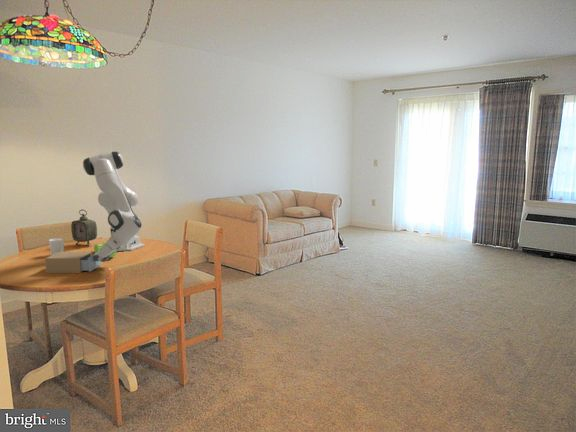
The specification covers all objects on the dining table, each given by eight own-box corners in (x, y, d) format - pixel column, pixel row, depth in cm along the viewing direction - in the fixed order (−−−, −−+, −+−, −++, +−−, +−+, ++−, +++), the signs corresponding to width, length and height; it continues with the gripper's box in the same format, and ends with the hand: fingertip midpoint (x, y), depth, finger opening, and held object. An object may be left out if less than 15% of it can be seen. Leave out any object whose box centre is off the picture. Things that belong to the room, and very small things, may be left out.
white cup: (63, 256, 250) (61, 240, 249) (48, 257, 248) (47, 241, 247) (66, 253, 258) (64, 237, 256) (52, 254, 256) (50, 238, 254)
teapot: (117, 259, 244) (116, 243, 242) (96, 261, 238) (95, 245, 237) (114, 255, 254) (113, 239, 252) (94, 257, 248) (93, 241, 247)
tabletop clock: (72, 245, 278) (69, 209, 274) (83, 243, 286) (81, 208, 282) (88, 247, 273) (85, 211, 269) (99, 244, 281) (96, 209, 277)
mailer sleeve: (92, 265, 231) (91, 251, 229) (80, 272, 217) (79, 258, 215) (60, 265, 230) (58, 251, 229) (46, 272, 216) (45, 258, 215)
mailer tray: (113, 264, 231) (112, 251, 230) (103, 271, 217) (102, 258, 216) (68, 264, 230) (67, 251, 229) (55, 272, 216) (54, 258, 215)
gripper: (120, 233, 232) (104, 250, 233) (106, 241, 211) (88, 259, 213) (129, 240, 232) (113, 257, 234) (115, 249, 212) (97, 267, 213)
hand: (101, 258), depth 223 cm, fingers closed on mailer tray, 4 cm apart
